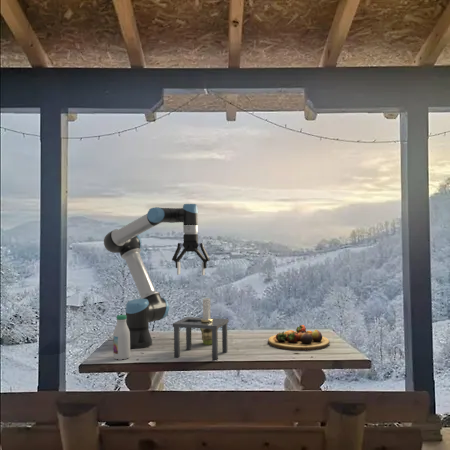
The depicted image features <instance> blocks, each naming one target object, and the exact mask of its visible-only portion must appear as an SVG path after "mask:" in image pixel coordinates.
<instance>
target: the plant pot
mask: <svg viewBox="0 0 450 450" xmlns="http://www.w3.org/2000/svg"><path fill="white" fill-rule="evenodd" d="M199 329H200V332H201V333H202V329H201V328H199ZM202 344H203V345H205V346H212V340H209V341H205V340H202Z"/></svg>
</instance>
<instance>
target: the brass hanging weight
mask: <svg viewBox="0 0 450 450" xmlns="http://www.w3.org/2000/svg"><path fill="white" fill-rule="evenodd" d="M202 318H203V319H201V322H203V323H210V322H213V319H211V318H212V317H211V298H210V297H205V298H203V299H202ZM201 340H202V341H203V340H205V341H209V340H212V329H202V332H201Z"/></svg>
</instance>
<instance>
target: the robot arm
mask: <svg viewBox="0 0 450 450" xmlns="http://www.w3.org/2000/svg"><path fill="white" fill-rule="evenodd" d="M198 210H199V209H198V205H197V204H196V203H185V204H183V205H182V207H179V208H177V207H175V208H173V207H157V206H155V207H151V208H149V210H148V211H147V213H146V214H143V215H142V216H140V217H138V218H136V219H135V220H133V221H131V222H130V223H128V224H126V225H124V226H123V227H121V228H119V229H117V228H116V229H113V230H111V231H109V232H108V233H107V234H106V235H105V236H104V238H103V245H104V248H105V250H107V251H108V252H110V253H113V254H119V255H120V257H121V259H122V260H125V262H126V265H127V267H128V269H129V271H130V274H131V277H132V278H133V282H134V284H135V286H136V288H137V291H138V293H139V296H140V298H135V299H131V300H129V301H127V302H126V304H125V315H126V316H127V318H126V324H127V326H128V328H129V331H130V349H141V348H142V349H143V348H148V347H151V346H152V345H153V339H152V336H151V333H150V330H149V329H150V328H149V325H150V324H149V323H152V322H156V321H158V322H159V321H160V320H163V319H165V318H166V317H167V316H168V315H169V311H170V304H169V302H168V300H167V299H166V298H164V297H162V296H161V294H160V292H158V291H156V288H155V287H154V284H153V282H152V280H151V277H150V275H149V273H148V270H147V268H146V265H145V263H144V261H143V259H142V256H141V254H140V253H141V251H142V249H141V248H142V239H141V237H140V236H139V235H141V234H142V233H144V232H147V231H148V230H150V229H152V228H153V227H155V226H158V225H160V224H161V223H168V224H169V223H171V224H172V223H173V224H175V223H177V224H178V223H182V224H183V225H182V227H183V229H182V230H183V234H182V235H183V236H182V237H183V243H181V242H178V243H177V247H176V249H175V252H174V254H173V256H172V258H171V260H172V261H173V262H174V263H175V268H176V274H177V276H179V275H181V274H182V273H181V271H182V270H181V259H183V257H184V255H185V254H186V253H187V252H189V253H190V252H191V253H195V254H196V255H197V256H198V257H199V259H200V260H201V276H205V275H206V269H207V265H208V264H207V263H208V262H210V261H211V258H210V257H209V254H208V252H207V250H206V248H205V244H204V242H200V243H199V235H198V233H199V224H198V222H199V221H198V220H199V218H198V216H199V211H198ZM198 247H199V248H200V250H201V251H200V250H199V249H198ZM182 248H183V249H182ZM181 249H182V251H181ZM201 252H202V253H201Z"/></svg>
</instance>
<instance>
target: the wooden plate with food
mask: <svg viewBox="0 0 450 450" xmlns="http://www.w3.org/2000/svg"><path fill="white" fill-rule="evenodd" d="M267 342H268V344H269V345H270V346H272V347H275V348H278V349H283V350H287V351H288V350H289V351H316V349H317V350H321V349H325V348H327V347H328V346H329V345H330V340H329V339H328V338H327V337H326V336H323V335H322V333H321V331H320V330H318V329H314V331H312V330H307V329H306V326H305V324H301V325H299V326H297V327H296V329H295V330H292V329H289V330H286V331H282V332H278V333H277V334H274V335H272V336H270V337H269V338H268V339H267Z"/></svg>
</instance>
